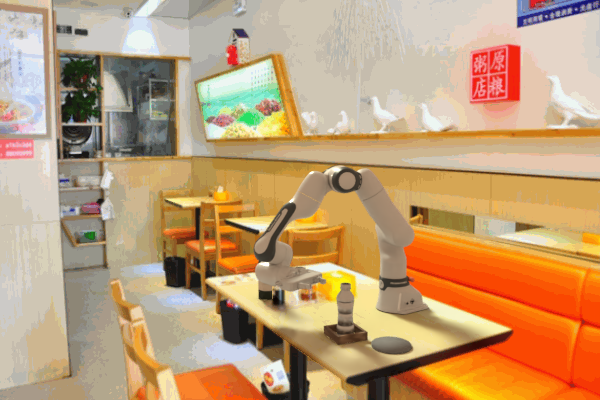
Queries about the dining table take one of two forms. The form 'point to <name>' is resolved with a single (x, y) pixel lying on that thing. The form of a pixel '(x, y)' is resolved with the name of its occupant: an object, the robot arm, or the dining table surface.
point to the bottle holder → (347, 338)
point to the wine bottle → (264, 290)
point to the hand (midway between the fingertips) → (317, 284)
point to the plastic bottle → (345, 310)
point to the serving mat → (391, 345)
